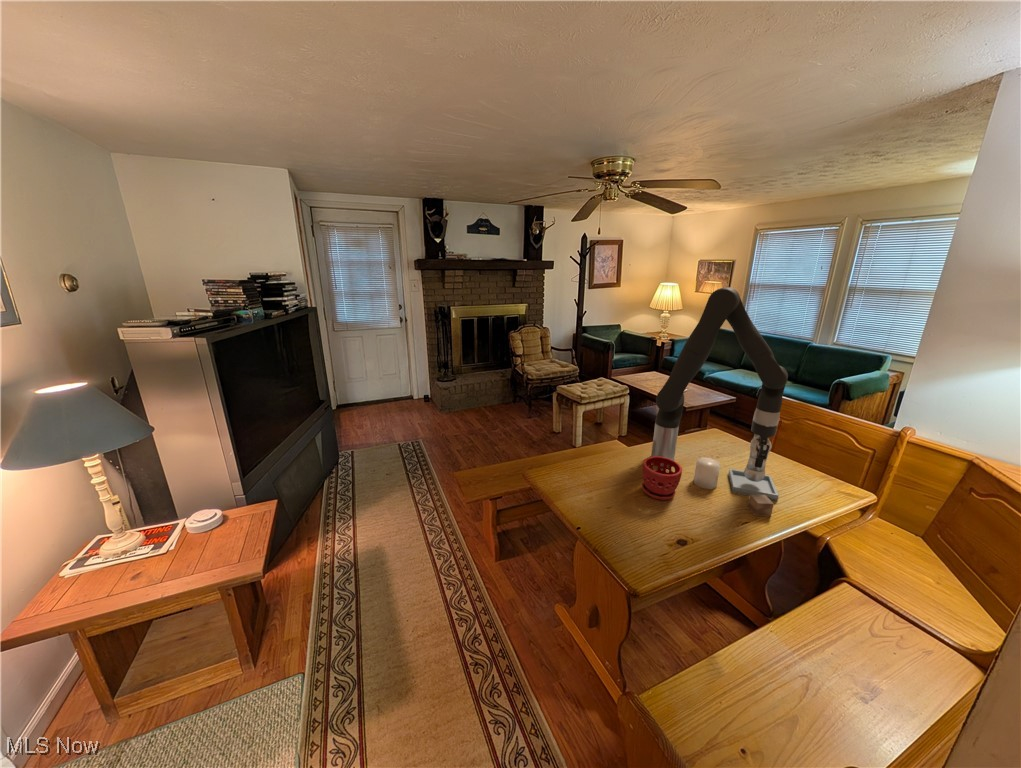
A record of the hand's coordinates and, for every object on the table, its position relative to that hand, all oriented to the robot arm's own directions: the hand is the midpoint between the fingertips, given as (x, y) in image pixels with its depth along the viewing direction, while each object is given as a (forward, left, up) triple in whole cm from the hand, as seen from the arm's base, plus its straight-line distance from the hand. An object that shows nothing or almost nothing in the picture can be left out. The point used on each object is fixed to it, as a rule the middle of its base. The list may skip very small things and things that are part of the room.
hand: (756, 462), depth 138 cm
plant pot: (-32, -18, -11) cm, 38 cm away
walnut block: (0, -16, -10) cm, 19 cm away
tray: (0, 0, -10) cm, 10 cm away
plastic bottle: (0, 0, -7) cm, 7 cm away
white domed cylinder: (-16, -4, -10) cm, 19 cm away
